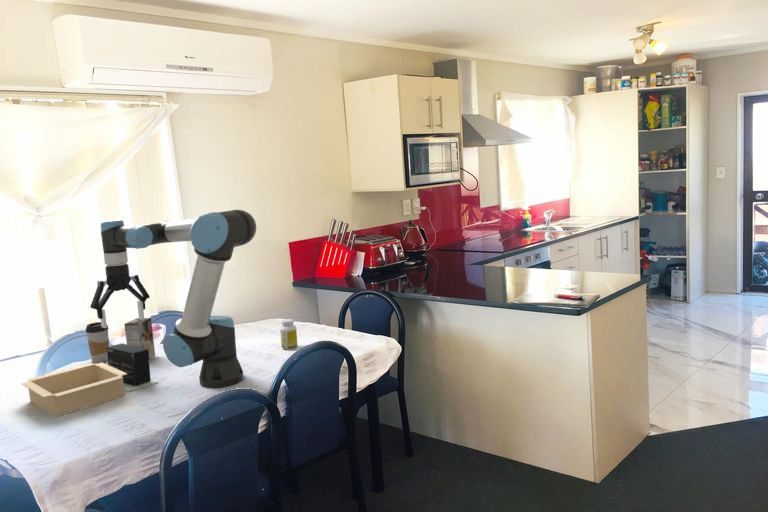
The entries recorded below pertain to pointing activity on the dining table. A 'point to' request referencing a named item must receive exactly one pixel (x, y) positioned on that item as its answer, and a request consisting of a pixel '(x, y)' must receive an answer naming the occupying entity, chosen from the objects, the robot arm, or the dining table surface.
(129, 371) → the box
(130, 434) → the dining table surface
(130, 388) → the mat
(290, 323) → the pill bottle
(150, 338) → the coffee box
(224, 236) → the robot arm
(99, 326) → the coffee cup
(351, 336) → the dining table surface
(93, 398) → the tan open rectangular tray
